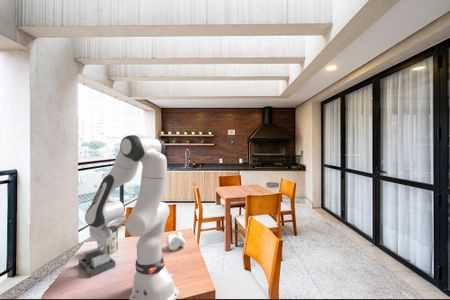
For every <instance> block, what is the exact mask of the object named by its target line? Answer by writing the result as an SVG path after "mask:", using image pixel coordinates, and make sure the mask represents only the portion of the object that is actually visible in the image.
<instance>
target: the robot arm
mask: <svg viewBox="0 0 450 300" xmlns="http://www.w3.org/2000/svg"><path fill="white" fill-rule="evenodd" d="M165 153H166V143H165V142H164V141H163V140H162V139H160V138H158V137H152V136H148V135H135V134H131V135H126V136H125V137H123V138H122V139H121V142H120V145H119V150H118V151H117V154H116V156H115V160H114V163H113V165H112V167H111V169H110V171H109V172H108V173H107V174H106V175H105V176H104V177H103V179H102V181H101V183H100V184H99V187H98V189H97V191H96V194H95V195H94V196H93V197H92V201H91V204H90V206H89V207H88V208H87V210H86V212H85V215H84V221H85V222H86V224H87V225H89V236H90V237H91V238H92V239H94V240H95V241H96V243H97V248H98V249H100V250H103V249H104V246H105V247H106V246H109V245H112V243H113V238H112V231H111V230H110V229H109V226H111V222H113V221H115V220H118V219H120V218H122V217H123V216H124V215H125V213H126V212H125V211H126V207H125V204H124V203H123V202H122V201H120V200H118V199H115V198H114V197H112V196H111V195H112V193H113V192H115V190H117V189H118V188H119V187H121V186H123V185H125V184H128V183H129V182H131V181H132V180H133V179H134V178H135V176H136V174H137V171H138V168H139V165H140V163H141V165H142V170H141V175H140V176H141V177H140V184H139V191H138V196H137V198H136V201H135V203H134V206H133V209H132V211H131V213H130V214H129V215H128V217H127V218H126V220H125V230H126V232H127V233H128V234H129V235H130V236H132V237H135V238H136V237H139V238H138V241H137V242H136V259H135V270H136V271H135V273H134V276H133V279H132V289H131V294H130V295H129V300H177V299H178V297H179V296H180V295H181V294H180V293H181V291H180V290H179V288H178V287H176V285H175V282H174V275H173V273H172V272H171V273H169V271H168V268H167V267H166V266H165V265H166V262H165V260H164V256H163V239H164V238H163V237H164V232H165V230H166V229H165V228H166V222H167V220H168V217H169V216H170V212H171V210H170V206H169V205H168V204H167V203H166V202H164V201H162V199H163V197H164V196H165V193H166V185H167V177H168V176H167V174H168V161H167V157H166V155H165Z"/></svg>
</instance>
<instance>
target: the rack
mask: <svg viewBox="0 0 450 300" xmlns="http://www.w3.org/2000/svg"><path fill="white" fill-rule="evenodd" d="M103 254H105V253H103V252H102V250H100V249H98V247H96V248H92V249H90V250H87V251H84V252H83V258H80V259H78V267H80V268H81V269H82V271H84V273H85V274H87V275H88V276H89V277H90V278H92V277H95V276H97V275H100V274H102V273H104V272H107V271H109V270H112V269H113V268H116V260H114V259H112V257H110V263H108V264H106V265H103V266H101V267H98V268H96V269H93V270H92V258H95V257H98V256H100V255H103Z"/></svg>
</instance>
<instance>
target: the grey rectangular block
mask: <svg viewBox="0 0 450 300" xmlns="http://www.w3.org/2000/svg"><path fill="white" fill-rule="evenodd" d="M110 258H111V254H109V253H106V254H103V255H100V256H98V257H95V258H92V270H93V269H96V268H98V267H101V266H103V265H106V264H108V263H110Z"/></svg>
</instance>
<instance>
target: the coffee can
mask: <svg viewBox="0 0 450 300" xmlns="http://www.w3.org/2000/svg"><path fill="white" fill-rule="evenodd" d="M109 229H110V230H111V231H112V238H113V243H112V245H109V246H106V247H105V246H104V249H103V250H102V252H103V253H105V254H106V253H109V254H110V255H112V254H115V253H116V252H117V251H118V250H119V248H118V246H119V244H118V243H119V240H118V239H119V238H118V232H119V231H118V229H119V228H118V226H115V225H110V226H109Z"/></svg>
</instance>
